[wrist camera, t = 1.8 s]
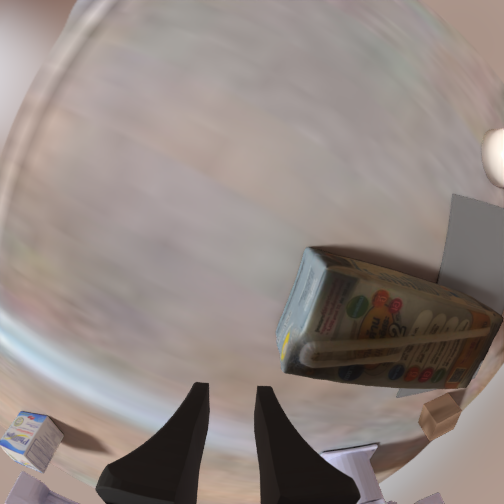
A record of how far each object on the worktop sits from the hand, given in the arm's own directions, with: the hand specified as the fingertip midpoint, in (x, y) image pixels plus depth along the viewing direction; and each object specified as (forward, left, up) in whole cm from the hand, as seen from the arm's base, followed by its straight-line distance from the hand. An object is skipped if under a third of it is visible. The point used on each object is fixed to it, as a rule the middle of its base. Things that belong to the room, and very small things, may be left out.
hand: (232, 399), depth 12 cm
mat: (0, -25, -10) cm, 27 cm away
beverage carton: (0, -13, -10) cm, 16 cm away
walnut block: (-15, -26, -10) cm, 32 cm away
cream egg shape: (+16, -25, -10) cm, 31 cm away
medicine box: (-24, +29, -10) cm, 39 cm away
